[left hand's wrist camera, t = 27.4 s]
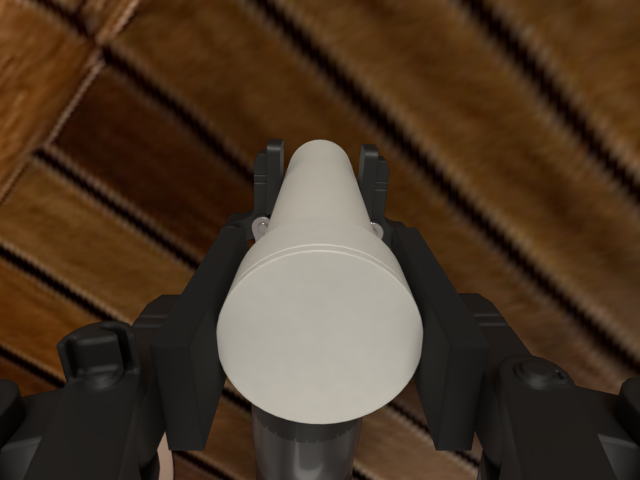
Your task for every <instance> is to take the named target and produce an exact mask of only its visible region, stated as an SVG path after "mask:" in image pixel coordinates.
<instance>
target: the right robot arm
mask: <svg viewBox="0 0 640 480" xmlns="http://www.w3.org/2000/svg"><path fill="white" fill-rule="evenodd" d="M283 162H284V140H283V139H270V140H269V141H268V143H267V150H266V149H261V150H260V152H259V153H258V154H257V157H256V159H255V162H254V209H253V210H251V211H248V212H245V213H238V212H237V213H233V214H231V215H230V216H229V218H228V219H227V222H226V224H225V225H224V226H223V227H222V229H223V228H246V237H247V240H251V239H254V238H255V240H256V242H257V241H258V240H259V239H260V238H261V237H263V236H264V235H265V233H266V230H267V227H268V224H269V221H270V218H271V215H272V212H273V210H274V207H275V204H276V201H277V198H278V195H279V192H280V189H281V186H282V184H283ZM388 177H389V169H388V165H387V161H386V160H385V159H384V157H383V156H378V148H377V147H376V146H375V145H370V144H362V145H361V152H360V163H359V174H358V187H359V190H360V193H361V196H362V198H363V201H364V204H365V207H366V210H367V213H368V216H369V219H370V222H371V225H372V228H373V230H374V233H375V236H377V237H378V238H379V239H380V240H382V241H383V242H384V243H385V244H386V246H387V247H388V248H389V249H390V250H391V252H392V248H393V234H394V228H406V226H405V225H404V224H403V223H402V222H399V221H395V222H394V221H392V220H389V219H387V218H386V217H384V211H385V202H386V194H387V186H388ZM222 229H221V230H220V232H221V231H222ZM220 232H219V234H220ZM362 417H363V416H362ZM362 417H360V418H356V419H353V420H349V421H345V422H339V423H331V424H308V423H300V422H295V421H291V420H286V419H283V418H280V417H277V416H275V415H273V414H270V413H268V412H266V411H264V410H262V409H261V408H259V407H257V406H256V405H254V404H253V403H252V436H253V442H254V447H255V453H256V480H351V478H352V470H353V461H354V456H355V453H356V450H357V446H358V443H359V439H360V433H361V425H362Z"/></svg>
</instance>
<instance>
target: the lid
mask: <svg viewBox="0 0 640 480" xmlns="http://www.w3.org/2000/svg"><path fill="white" fill-rule="evenodd" d="M216 334H217V344H218V353H219V359H220V362H221V364H222V367H223V369H224V371H225V373H226V375H227V376H228V378H229V380H230V381H231V383H232V384H233V385H234V386H235V388H236V389H237V390H238V391H239V392H240V393H241V394H242V395H243V396H244V397H245V398H246V399H248V400H249V401H250V402H252V403H253V404H254V405H256V406H257V407H259V408H261V409H262V410H264V411H266V412H268V413H270V414H273V415H275V416H277V417H280V418H283V419H286V420H291V421H295V422H300V423H308V424H331V423H339V422H345V421H349V420H353V419H356V418H360V417H362V416H365V415H367V414H369V413H372V412H373V411H375V410H377V409H379V408H381V407H382V406H384V405H385V404H387V403H388V402H389V401H391V400H392V399H393V398H394V397H395V396H397V395H398V394H399V393H400V392H401V391H402V389H403V388H404V387H405V386H406V385H407V384H408V382H409V381H410V379H411V377H412V376H413V374H414V372H415V370H416V368H417V366H418V364H419V360H420V357H421V351H422V342H423V325H422V319H421V316H420V313H419V310H418V307H417V305H416V302H415V300H414V298H413V295H412V293H411V291H410V288H409V286H408V283H407V281H406V279H405V276H404V274H403V271H402V269H401V267H400V265H399V263H398V261H397V259H396V257H395V256H394V254H393V253H392V252H391V250H390V249H389V248H388V247H387V246H386V244H385V243H384V242H383V241H382V240H380V239H379V238H378V237H377V236H375V235H374V234H373V233H371V232H369V231H368V230H366V229H364V228H363V227H360V226H358V225H356V224H353V223H350V222H347V221H343V220H339V219H333V218H307V219H301V220H296V221H292V222H289V223H287V224H284V225H281V226H279V227H277V228H275V229H274V230H272V231H270V232H269V233H267V234H266V235H264V236H263V237H261V238H260V239H259V240H258V241H257V242H256V243H255V244H254V245H253V246H252V247H251V249H250V250H249V251H248V252H247V253H246V255H245V257H244V258H243V260H242V262H241V264H240V266H239V269H238V271H237V273H236V276H235V278H234V280H233V283H232V285H231V288H230V290H229V292H228V295H227V297H226V299H225V302H224V304H223V307H222V309H221V312H220V314H219V318H218V323H217V330H216Z"/></svg>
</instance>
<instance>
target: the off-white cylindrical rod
mask: <svg viewBox="0 0 640 480" xmlns="http://www.w3.org/2000/svg"><path fill="white" fill-rule="evenodd" d="M307 218H333V219H339V220H343V221H347V222H350V223H353V224H356V225H358V226H360V227H363V228H364V229H366V230H368V231H369V232H371V233H373V234H374V235H375V233H374V230H373V228H372V225H371V222H370V219H369V216H368V213H367V210H366V207H365V204H364V201H363V198H362V196H361V193H360V190H359V187H358V184H357V181H356V178H355V175H354V172H353V169H352V166H351V164H350V161H349V158H348V156H347V154H346V153H345V152H344V150H343V149H342V148H341V147H339V146H338V145H336V144H335V143H333V142H330V141H326V140H314V141H310V142H307V143H305V144H303V145H302V146H301V147H299V148H298V149H297V150H296V152H295V153H294V154H293V156H292V158H291V160H290V163H289V166H288V169H287V172H286V175H285V178H284V181H283V184H282V186H281V189H280V192H279V195H278V198H277V201H276V204H275V207H274V210H273V212H272V215H271V218H270V221H269V224H268V227H267V230H266V233H265V235H266V234H267V233H269V232H270V231H272V230H274V229H275V228H277V227H279V226H281V225H284V224H287V223H289V222H292V221H296V220H301V219H307Z"/></svg>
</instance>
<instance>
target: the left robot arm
mask: <svg viewBox="0 0 640 480" xmlns="http://www.w3.org/2000/svg"><path fill="white" fill-rule="evenodd" d="M247 252H248V251H247V237H246V228H223V229H222V231H221V232H220V234H219V235H218V237H217V239H216V240H215V242H214V243H213V245H212V247H211V248H210V250H209V251H208V253H207V254H206V256H205V258H204V259H203V261H202V262H201V264H200V266H199V267H198V269H197V270H196V272H195V274H194V275H193V277H192V278H191V280H190V281H189V283H188V285H187V286H186V288H185V289H184V291H183V293H182V294H181V295H161V296H160V297H158V298H157V299H155V300H153V301H152V302H150V303H149V304H147V306H146V307H145V308H144V310H143V311H142V312H141V314H140V315H139V318H137V319H136V320H135V322H134V323H133V324H132V327H131V326H130V325H129V324H128V323H125V322H120V321H102V322H97V323H93V324H89V325H86V326H84V327H81V328H79V329H76V330H74V331H73V332H71V333H70V334H68V335H66V336H65V337H63V339H62V340H61V341H60V342H59V343H58V344H57V345H56V346H57V350H58V353H59V357H60V360H61V364H62V367H63V371H64V374H65V378H66V381H67V382H66V384H65V387H64V388H60V389H57V390H52V391H48V392H43V393H38V394H34V395H29V396H24V397H22V396H21V393H20V390H19V387H18V385H17V384H15V383H14V382H13V381H12V380H6V379H0V480H159V474H160V462H159V456H158V451H157V449H158V447H159V445H160V442H161V440H162V438H163V435H164V433H166V439H167V444H168V450H204V448H205V445H206V441H207V438H208V435H209V432H210V429H211V425H212V422H213V419H214V416H215V412H216V409H217V406H218V403H219V399H220V396H221V393H222V390H223V386H224V383H225V380H226V377H227V375H226V373H225V371H224V369H223V367H222V364H221V362H220V359H219V353H218V344H217V334H216V330H217V323H218V318H219V314H220V312H221V309H222V307H223V304H224V302H225V299H226V297H227V295H228V292H229V290H230V288H231V285H232V283H233V280H234V278H235V276H236V273H237V271H238V269H239V266H240V264H241V262H242V260H243V258H244V257H245V255H246V253H247ZM392 253H393V254H394V256H395V257H396V259H397V261H398V263H399V265H400V267H401V269H402V271H403V274H404V276H405V279H406V281H407V283H408V286H409V288H410V291H411V293H412V295H413V298H414V300H415V302H416V305H417V307H418V310H419V313H420V316H421V319H422V325H423V342H422V351H421V357H420V360H419V364H418V366H417V368H416V370H415V372H414V374H413V378H414V381H415V384H416V387H417V390H418V394H419V397H420V400H421V403H422V407H423V410H424V413H425V416H426V420H427V423H428V426H429V429H430V433H431V436H432V439H433V442H434V446H435V449H436V450H471V448H472V443H473V437H474V432H475V431H476V434H477V436H478V438H479V441H480V443H481V445H482V448H483V451H482V456H481V461H480V466H479V471H478V476H477V480H640V377H635V378H629V379H627V380H626V381H625V382H624V383H622V386H621V389H620V392H619V395H615V394H610V393H606V392H601V391H596V390H591V389H587V388H583V387H579V386H575V384H574V381H573V380H572V379H571V377H570V376H569V375H568V373H567V372H566V371H564V370H563V369H562V368H560V367H559V366H558V365H556V364H554V363H552V362H550V361H548V360H546V359H543V358H540V357H536V356H532V355H531V353H530V352H529V351H528V349H527V348H526V347H525V345H524V344H523V343H522V341H521V340H520V339H519V337H518V336H517V335H516V333H515V332H514V331H513V329H512V328H511V327H510V326H508V323H507V322H506V320H505V319H504V318H503V317H501V314H500V312H499V311H498V310H497V308H496V307H495V306H494V304H493V303H492V302H490V301H489V300H487V299H485V298H484V297H482V296H481V295H479V294H478V293H457V291H456V290H455V288H454V287H453V285H452V283H451V282H450V280H449V279H448V277H447V276H446V274H445V272H444V271H443V269H442V268H441V266H440V264H439V263H438V261H437V260H436V258H435V256H434V255H433V253H432V252H431V250H430V249H429V247H428V245H427V244H426V242H425V241H424V239H423V237H422V236H421V234H420V233H419V231H418V229H417V228H394V234H393V248H392Z"/></svg>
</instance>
